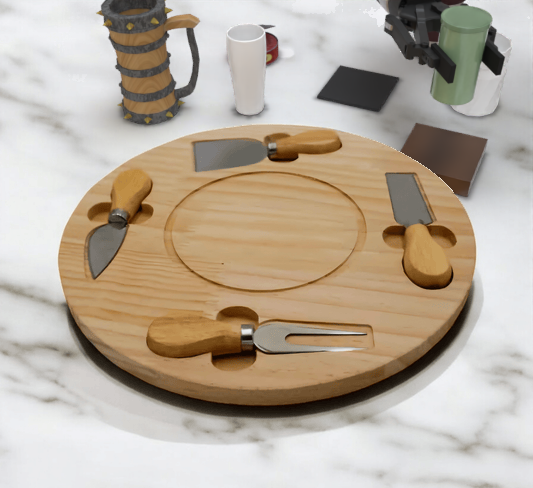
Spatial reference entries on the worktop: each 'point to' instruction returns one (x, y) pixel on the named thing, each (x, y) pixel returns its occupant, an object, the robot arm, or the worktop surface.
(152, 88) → the mug
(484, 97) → the vase
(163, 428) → the worktop surface
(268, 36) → the canned food
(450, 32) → the tumbler
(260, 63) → the drinking glass
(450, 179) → the display stand
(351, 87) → the mat
